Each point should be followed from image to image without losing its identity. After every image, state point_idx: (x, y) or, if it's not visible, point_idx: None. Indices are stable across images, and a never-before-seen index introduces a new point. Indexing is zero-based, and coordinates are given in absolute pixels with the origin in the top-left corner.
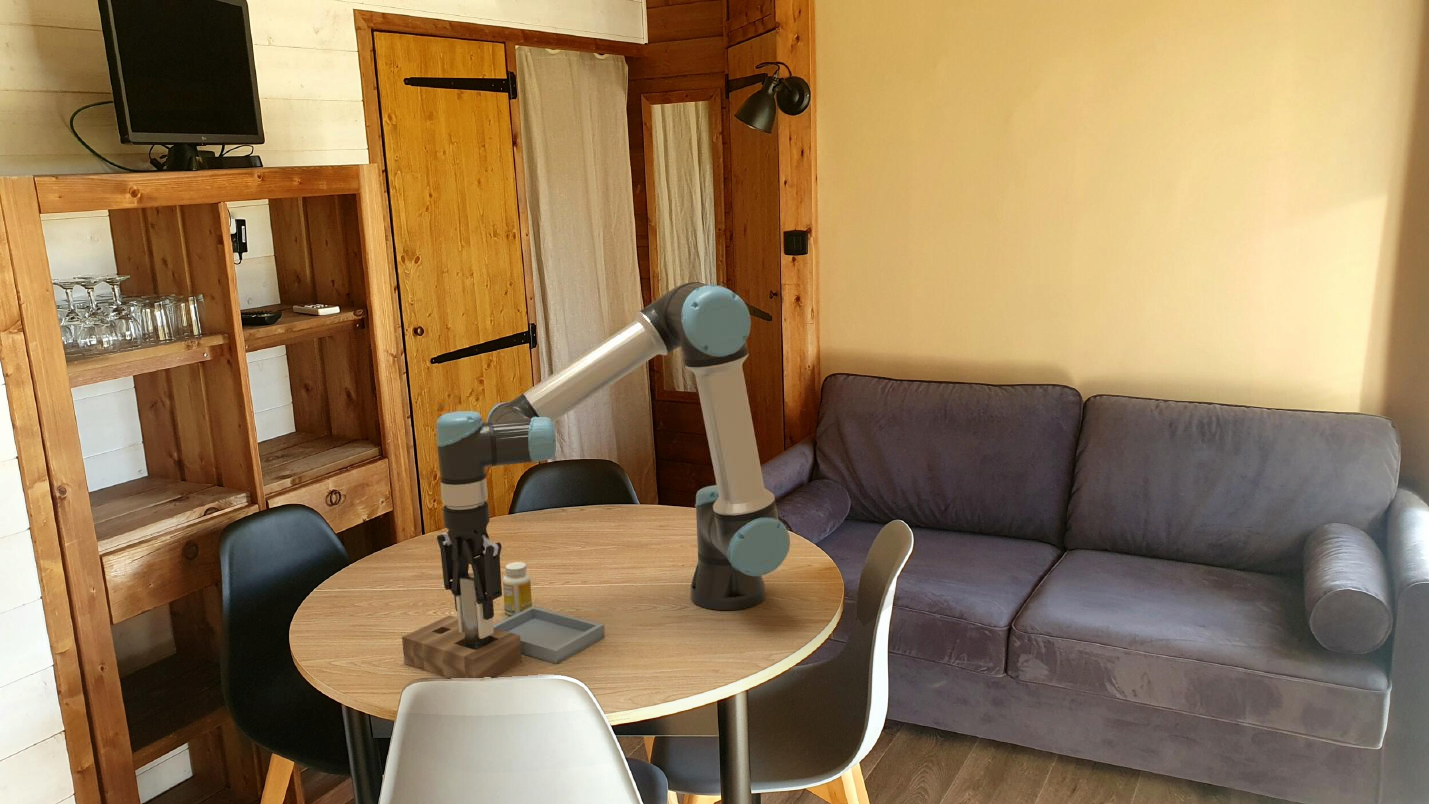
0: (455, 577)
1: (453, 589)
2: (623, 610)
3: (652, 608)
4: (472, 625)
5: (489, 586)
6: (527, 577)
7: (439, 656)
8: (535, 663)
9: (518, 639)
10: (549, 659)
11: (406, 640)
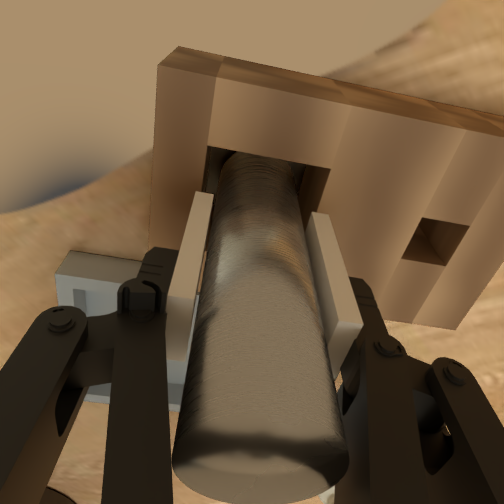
0: (391, 442)
1: (393, 362)
2: None
3: (95, 464)
4: (237, 217)
5: (4, 395)
6: (321, 498)
7: (359, 99)
8: (125, 238)
9: None
10: (94, 258)
11: None
